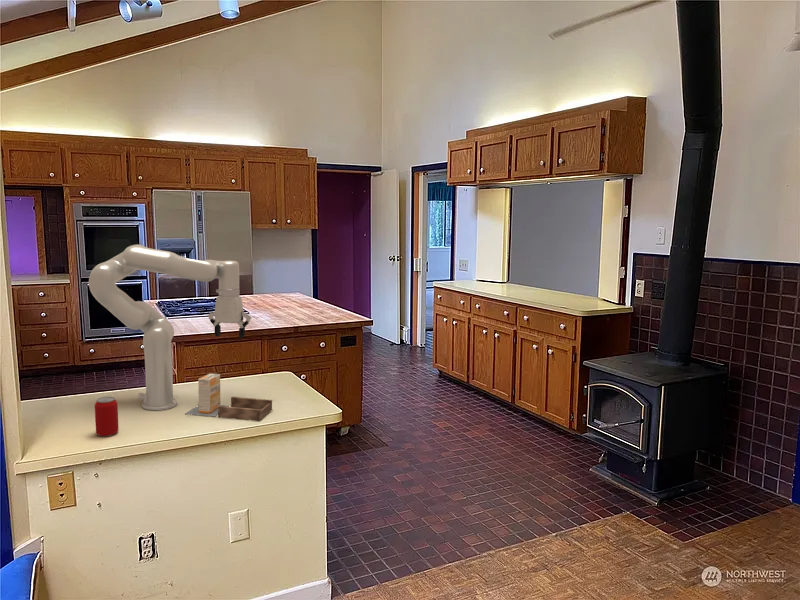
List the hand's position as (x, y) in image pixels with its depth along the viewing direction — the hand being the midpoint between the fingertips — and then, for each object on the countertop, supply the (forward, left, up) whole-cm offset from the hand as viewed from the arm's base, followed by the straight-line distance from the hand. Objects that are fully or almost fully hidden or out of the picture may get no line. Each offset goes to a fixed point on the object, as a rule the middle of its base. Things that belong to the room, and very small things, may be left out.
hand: (229, 336), depth 226 cm
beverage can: (-25, -40, -26) cm, 54 cm away
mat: (-4, -11, -26) cm, 29 cm away
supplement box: (-3, -11, -26) cm, 29 cm away
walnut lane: (+11, -11, -26) cm, 31 cm away
